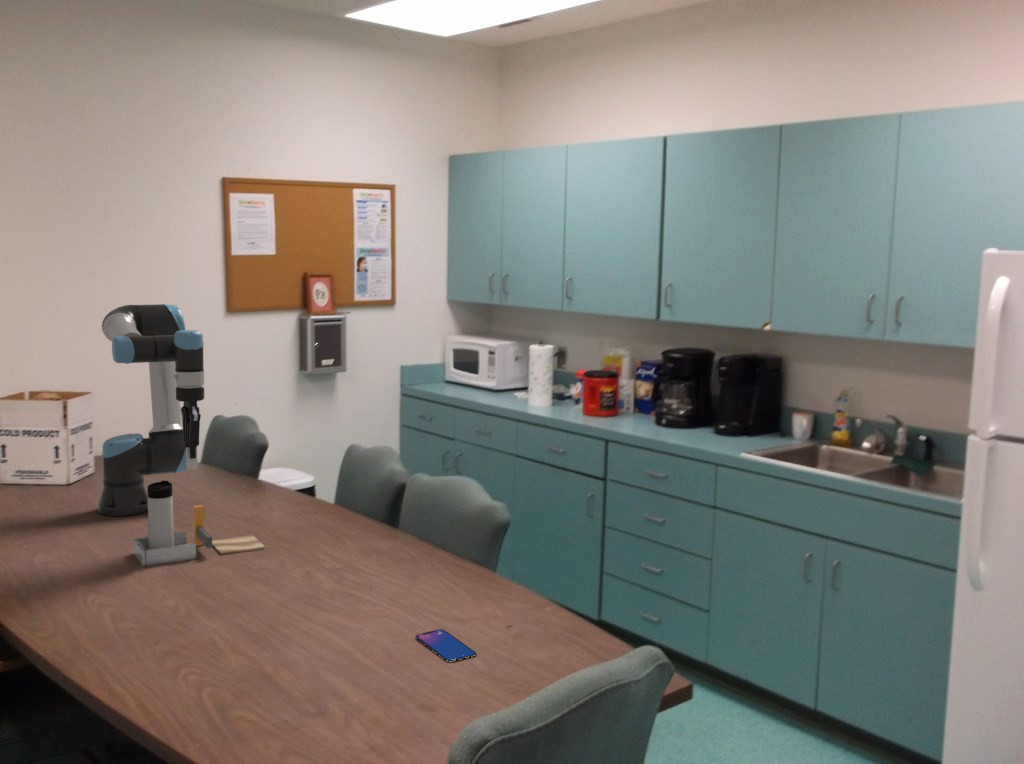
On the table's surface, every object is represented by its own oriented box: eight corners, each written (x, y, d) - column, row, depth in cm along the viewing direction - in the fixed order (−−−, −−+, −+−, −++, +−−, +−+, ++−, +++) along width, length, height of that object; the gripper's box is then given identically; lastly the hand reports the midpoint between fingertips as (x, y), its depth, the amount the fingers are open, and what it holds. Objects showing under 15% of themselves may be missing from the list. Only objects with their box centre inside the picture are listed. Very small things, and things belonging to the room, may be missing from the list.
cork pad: (209, 542, 264) (209, 540, 264) (252, 536, 270) (252, 534, 270) (221, 554, 254) (220, 552, 254) (264, 548, 260) (264, 546, 260)
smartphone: (448, 662, 191) (413, 635, 203) (448, 666, 191) (413, 639, 203) (478, 654, 195) (442, 628, 207) (478, 658, 195) (442, 631, 207)
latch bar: (194, 544, 262) (193, 506, 261) (202, 543, 264) (202, 504, 262) (205, 557, 251) (204, 517, 250) (214, 556, 253) (213, 516, 251)
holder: (134, 553, 254) (133, 538, 253) (185, 546, 261) (185, 532, 260) (142, 566, 244) (142, 551, 243) (196, 558, 251) (195, 544, 250)
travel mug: (178, 553, 255) (177, 480, 252) (167, 560, 248) (165, 487, 245) (156, 551, 255) (154, 479, 253) (144, 559, 249) (142, 485, 246)
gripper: (170, 383, 265) (173, 465, 269) (181, 389, 254) (183, 475, 258) (198, 382, 269) (199, 463, 272) (209, 388, 258) (211, 472, 261)
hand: (191, 469), depth 265 cm, fingers closed
